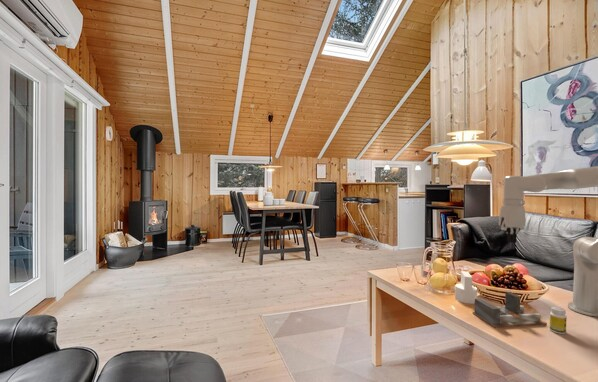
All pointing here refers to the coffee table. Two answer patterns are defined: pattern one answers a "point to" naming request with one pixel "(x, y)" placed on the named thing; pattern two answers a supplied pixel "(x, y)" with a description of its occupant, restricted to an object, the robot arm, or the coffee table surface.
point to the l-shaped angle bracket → (511, 305)
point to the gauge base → (496, 320)
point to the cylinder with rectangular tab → (465, 289)
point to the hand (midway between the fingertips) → (511, 242)
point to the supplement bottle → (558, 320)
